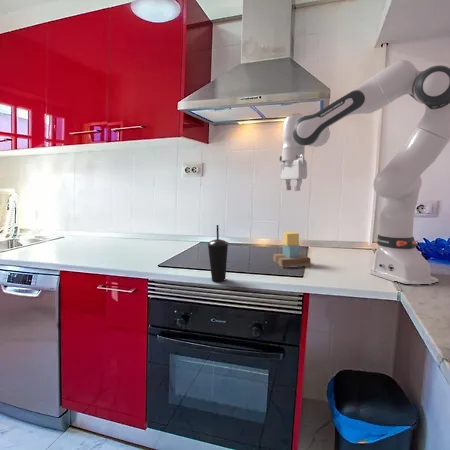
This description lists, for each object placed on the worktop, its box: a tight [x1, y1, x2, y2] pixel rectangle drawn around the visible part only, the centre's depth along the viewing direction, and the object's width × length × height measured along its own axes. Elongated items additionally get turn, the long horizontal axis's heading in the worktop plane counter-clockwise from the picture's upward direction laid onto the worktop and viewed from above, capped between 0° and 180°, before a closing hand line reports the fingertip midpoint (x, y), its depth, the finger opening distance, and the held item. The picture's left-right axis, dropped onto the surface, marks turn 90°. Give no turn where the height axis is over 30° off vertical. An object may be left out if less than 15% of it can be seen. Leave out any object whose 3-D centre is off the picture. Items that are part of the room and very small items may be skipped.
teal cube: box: [282, 244, 301, 258], centre depth 135 cm, size 5×5×5 cm
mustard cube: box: [282, 231, 300, 246], centre depth 134 cm, size 5×5×5 cm
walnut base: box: [272, 252, 311, 268], centre depth 136 cm, size 12×12×4 cm
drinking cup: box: [206, 224, 230, 283], centre depth 114 cm, size 8×8×20 cm
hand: (292, 190), depth 131 cm, fingers open, 8 cm apart
